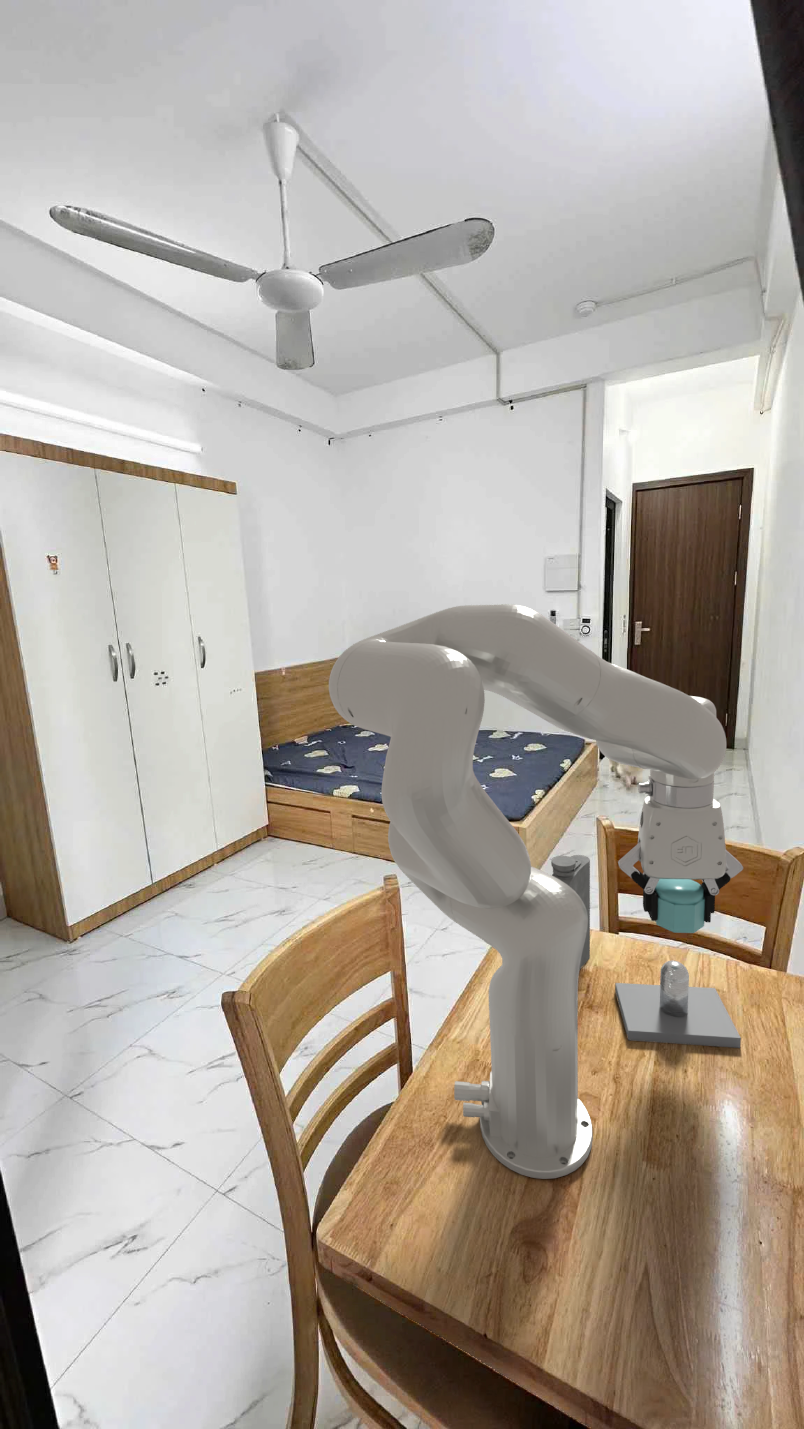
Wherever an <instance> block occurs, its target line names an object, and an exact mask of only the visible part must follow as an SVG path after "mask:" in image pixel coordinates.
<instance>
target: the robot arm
mask: <svg viewBox="0 0 804 1429" xmlns="http://www.w3.org/2000/svg"><path fill="white" fill-rule="evenodd" d="M485 691H489V692H492V693H495V694H497V695H499V696H501V697H503V698H505V699H507V700H508V701H510V702H512V703H514V704H516V705H518V706H519V707H521V708H523V709H525V710H527V711H529V712H530V713H532V714H534V715H536V716H537V717H539V718H541V719H542V720H544V721H546V722H548V723H550V724H551V725H553V726H554V727H556V728H558V729H561V730H562V731H564V732H567V733H571V734H573V735H577V736H580V737H582V738H586V739H588V740H589V739H590V740H592V741H593V740H594V741H595V742H596V746H597V749H598V750H599V751H600V753H601V754H602V755H604V757H605V758H607V759H608V760H610V761H613V762H615V763H618V764H621V765H624V766H629V767H633V768H639V769H642V770H643V769H644V770H649V772H650V773H649V775H648V779H647V780H646V781H644V782H642V783H641V782H639V783H638V786H637V788H638V794H644V795H647V796H646V797H645V798H644V802H643V805H642V809H641V814H640V821H639V826H638V835H637V838H638V839H637V844H636V845H635V846H634V847H632V849H630V850H629V851H627V853H626V854H624V855H623V856H622V857H621V858H619V860H618V861H617V863H618V867H619V869H620V870H621V871H622V872H624V873H625V875H627V876H628V877H630V879H632V881H633V882H634V883H636V884H637V885H638V886H639V887H640V888H641V889H642V908H643V911H644V912H647V913H648V915H649V918H650V920H651V922H655V921H656V920H657V919H658V895H657V893H656V891H655V888H656V886H657V883H658V881H659V879H691V880H701V881H702V882H701V883H699V884H700V885H701V886H702V887H703V897H704V898H705V910H704V923H711V919H712V918H711V917H712V914H715V911H716V910H715V908H716V907H715V906H716V896H717V895H718V894H719V893H720V890H721V889H722V888H724V886H726V885H727V884H728V883H730V882H731V880H732V878H735V877H736V876H737V875H738V874H740V873H741V872H742V871H743V870H744V866H743V865H742V863H741V862H740V861H739V860H738V859H737V858H736V857H735V856H734V855H732V854H731V853H730V852H729V851H728V850H727V849H726V835H725V823H724V817H723V812H722V807H721V804H720V802H719V801H717V800H716V799H714V789H715V788H714V787H715V786H714V785H715V772H716V771H717V770H718V769H719V768H720V766H721V765H722V763H723V761H724V758H725V757H726V756H725V755H726V753H727V738H726V732H725V730H724V727H723V725H722V723H721V722H720V720H719V719H718V718H717V708H716V706H715V704H714V703H713V702H712V701H711V700H710V699H708V698H704V697H701V696H693V695H688V694H687V693H684V692H683V691H681V690H679V689H677V688H674V687H671V686H669V685H666V684H664V683H662V682H660V681H657V680H654V679H651V678H649V677H646V676H644V675H641V674H639V673H637V672H635V671H632V670H630V669H627V668H625V667H623V666H619V665H617V664H614V663H611V662H609V661H606V660H605V659H604V658H602V657H601V656H599V655H598V654H596V653H595V652H593V651H592V650H591V649H589V648H588V647H587V646H585V645H583V643H581V642H579V640H577V639H575V638H574V637H573V636H572V635H570V634H569V633H568V632H566V631H565V630H564V629H563V628H561V627H559V626H558V625H557V624H555V623H554V622H553V621H551V619H549V618H547V617H546V616H544V615H543V614H541V613H540V612H538V611H536V610H534V609H532V608H530V607H527V606H525V605H519V604H514V603H513V604H512V603H511V604H510V603H503V604H473V605H472V604H471V605H466V604H465V605H456V606H452V607H448V608H445V609H442V610H439V611H436V612H434V613H430V614H428V615H426V616H423V617H421V618H418V619H415V620H412V621H410V622H406V623H404V624H402V625H399V626H396V627H394V628H391V629H388V630H385V631H382V632H380V633H377V634H375V635H372V636H369V637H367V638H364V639H361V640H359V641H357V642H355V643H353V644H352V645H350V646H348V647H347V648H346V649H345V650H344V651H342V653H341V654H340V655H339V657H337V659H336V661H335V662H334V664H333V666H332V668H331V670H330V675H329V678H328V692H329V698H330V700H331V702H332V704H333V707H334V709H335V711H336V712H337V713H338V715H339V716H341V717H342V718H343V720H345V721H346V722H347V723H349V724H352V726H354V727H357V728H360V729H363V730H365V731H369V732H370V731H371V732H374V733H377V734H380V735H384V736H387V737H390V740H389V745H388V748H387V752H386V754H385V755H386V756H385V762H384V769H383V775H382V782H381V791H380V792H381V801H382V802H381V803H382V805H383V810H384V812H385V815H386V816H387V818H388V820H389V821H390V822H389V824H388V825H389V826H388V832H387V834H388V835H387V842H388V847H389V851H390V854H391V857H392V859H393V861H394V862H395V864H396V866H397V867H398V869H399V870H400V871H401V872H402V873H403V874H404V875H405V876H406V877H407V878H408V879H409V881H411V882H412V883H413V884H414V885H415V886H416V887H417V888H418V889H419V890H420V892H422V893H423V894H424V896H425V897H426V898H428V899H429V901H431V903H433V904H434V905H435V906H436V907H437V908H438V909H439V910H440V911H441V912H442V913H443V914H444V915H445V916H447V917H448V918H449V919H450V920H452V921H453V922H454V923H455V924H458V925H459V927H462V928H464V930H466V931H468V932H470V933H471V934H472V935H475V937H478V938H479V939H481V940H482V941H484V943H486V944H487V945H489V946H491V947H492V948H493V949H495V950H496V951H497V952H498V954H499V956H500V957H501V959H502V960H501V961H502V962H501V965H500V966H499V967H498V969H496V971H495V972H494V973H493V974H492V977H491V979H490V981H489V985H488V986H489V987H488V1010H489V1012H488V1013H489V1035H490V1036H489V1038H490V1041H489V1042H490V1066H491V1071H490V1072H489V1080H481V1084H480V1083H470V1082H469V1081H468V1082H467V1081H459V1080H458V1081H457V1080H455V1081H454V1089H453V1090H454V1095H453V1096H454V1101H460V1102H461V1101H463V1105H462V1106H463V1107H462V1117H466V1118H479V1125H480V1132H481V1136H482V1139H483V1141H484V1143H485V1146H486V1147H487V1148H488V1151H490V1153H491V1154H492V1156H494V1158H495V1159H497V1161H499V1162H500V1164H502V1165H504V1167H506V1168H508V1170H511V1171H513V1172H515V1173H517V1174H519V1175H522V1176H526V1177H528V1178H529V1177H530V1178H534V1179H543V1180H545V1179H546V1180H547V1179H557V1178H560V1177H563V1176H567V1175H569V1174H571V1173H573V1172H576V1170H578V1169H579V1167H581V1166H582V1165H583V1163H584V1162H585V1161H586V1160H587V1159H588V1157H589V1155H590V1152H591V1150H592V1147H593V1140H594V1138H593V1123H592V1120H591V1117H590V1114H589V1112H588V1110H587V1108H586V1106H585V1105H584V1103H583V1102H582V1101H581V1100H580V1099H579V1094H578V1092H579V1086H578V1084H579V1074H578V1071H579V1070H578V1069H579V1068H578V1067H579V1064H578V1063H579V1062H578V1060H579V1055H578V1052H579V1051H578V1044H579V1042H578V1038H579V1037H578V1036H579V1034H578V1030H579V1028H578V1012H579V1010H578V1007H579V1006H578V1004H579V1003H578V1001H579V1000H578V995H579V976H580V970H579V968H580V961H581V956H582V951H583V947H584V943H585V938H586V933H587V927H588V916H587V911H586V908H585V905H584V903H583V901H582V900H581V898H580V897H579V895H578V894H577V893H576V892H575V891H574V890H573V889H572V888H571V887H570V886H568V885H567V884H565V883H564V882H562V881H561V880H559V879H557V878H556V877H554V876H552V874H549V873H547V872H545V871H542V870H540V869H539V868H536V867H534V866H533V865H532V863H531V858H530V854H529V851H528V848H527V846H526V843H525V842H524V839H522V837H521V836H520V834H519V833H518V831H517V830H516V829H515V827H514V826H513V825H512V824H511V822H510V821H509V819H508V818H507V817H506V816H505V815H504V814H503V812H502V810H500V808H499V807H498V806H497V804H496V803H495V802H494V800H493V799H492V798H491V797H490V796H489V794H488V793H487V792H486V791H485V789H484V788H483V787H482V785H481V783H480V781H479V780H478V779H477V776H476V775H475V772H474V766H473V765H474V763H473V761H474V760H473V759H474V754H475V753H474V752H475V749H476V748H475V747H476V743H477V739H478V735H479V731H480V728H481V724H482V720H483V717H484V711H485V700H486V699H485V698H486V697H485ZM638 861H639V862H640V865H641V868H642V871H643V872H641V870H639V869H638V868H636V867H635V866H634V865H635V864H636V863H637V862H638ZM470 1101H472V1102H473V1101H474V1102H481V1103H480V1104H478V1103H477V1104H475V1103H472V1102H470Z"/></svg>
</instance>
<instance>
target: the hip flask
mask: <svg viewBox="0 0 804 1429" xmlns="http://www.w3.org/2000/svg"><path fill="white" fill-rule="evenodd" d="M550 862H551V863H550V864H551V867H552V874H551V875H552V876H554V877H556V878H557V879H559V880H561V881H562V882H564V883H565V884H567V885H568V886H570V887H571V888H572V889H573V890H574V891H575V892H576V893H577V894H578V895H579V897H580V898H581V900H582V901H583V903H584V905H585V908H586V911H587V916H588V927H587V933H586V938H585V943H584V947H583V951H582V956H581V961H580V968H579V971H581V969H582V968H583V966H585V964H586V963H587V962H588V961H589V960H590V959H591V954H590V952H591V942H590V941H591V879H590V878H591V859H590V858H589V856H587V855H583V854H574V855H571V856H568V855H557V856H554V857H552V859H551V860H550Z"/></svg>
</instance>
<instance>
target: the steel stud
mask: <svg viewBox="0 0 804 1429" xmlns="http://www.w3.org/2000/svg"><path fill="white" fill-rule="evenodd" d="M689 974H690V973H689V969H687V967H686V966H685V965H684V964H683V963H681V961H678V960H673V959H672V960H668V961H665V962H664V963H663V964H662V965H661V968H660V975H659V976H660V979H659V980H660V982H659V985H660V1009H661V1010H662V1011H663V1012H664V1013H665V1014H667V1015H669V1016H672V1017H684V1016H686V1015H687V1013H688V991H689V987H690V984H689V983H690V975H689Z"/></svg>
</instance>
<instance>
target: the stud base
mask: <svg viewBox="0 0 804 1429" xmlns="http://www.w3.org/2000/svg"><path fill="white" fill-rule="evenodd" d="M614 986H615V988H614V991H615V992H614V993H615V995H616V999H617V1000H616V1001H617V1003H618V1007H619V1010H620V1015H621V1017H622V1022H623V1026H624V1030H625V1033H626V1037H627V1040H628V1041H636V1042H637V1041H638V1042H649V1043H664V1044H678V1045H694V1046H708V1047H723V1048H733V1049H734V1048H735V1049H736V1048H737V1049H741V1045H742V1044H741V1041H742V1038H741V1036H740V1034H739V1032H738V1029H737V1028H736V1026H735V1024H734V1022H733V1020H732V1018H731V1016H730V1015H729V1012H728V1010H727V1009H726V1007H725V1004H724V1003H723V1001H722V999H721V997H720V995H719V993H718V991H717V989H716V987H703V986H702V987H700V986H689V991H688V1013H687V1015H686V1016H684V1017H672V1016H669V1015H667V1014H665V1013H664V1012H663V1011H662V1010H661V1009H660V984H646V983H645V984H644V983H628V982H627V983H625V982H624V983H623V982H615V983H614Z"/></svg>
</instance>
